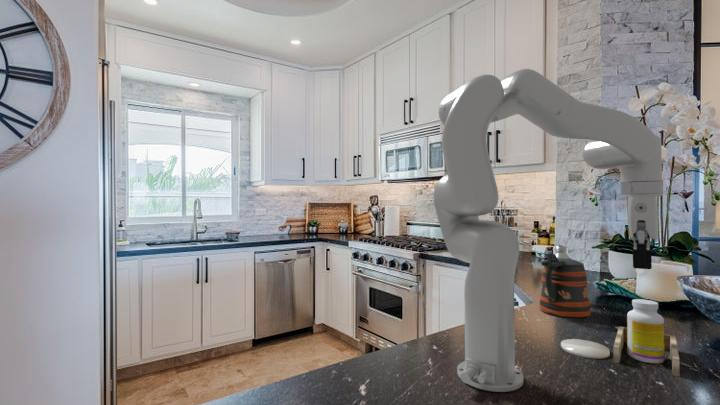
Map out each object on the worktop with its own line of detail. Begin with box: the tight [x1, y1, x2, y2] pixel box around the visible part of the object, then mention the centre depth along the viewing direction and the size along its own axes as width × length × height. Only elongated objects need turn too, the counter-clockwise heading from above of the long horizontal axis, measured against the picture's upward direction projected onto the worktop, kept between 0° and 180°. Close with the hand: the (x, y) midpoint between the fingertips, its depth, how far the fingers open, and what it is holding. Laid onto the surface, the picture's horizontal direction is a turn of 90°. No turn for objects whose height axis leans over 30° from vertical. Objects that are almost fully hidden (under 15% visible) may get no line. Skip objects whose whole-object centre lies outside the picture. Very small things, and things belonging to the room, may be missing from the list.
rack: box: [612, 326, 680, 377], centre depth 84 cm, size 17×11×4 cm, turn 141°
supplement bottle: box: [626, 298, 666, 365], centre depth 83 cm, size 7×7×13 cm
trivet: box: [560, 338, 611, 360], centre depth 88 cm, size 10×10×1 cm
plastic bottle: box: [554, 245, 570, 259], centre depth 132 cm, size 6×7×20 cm
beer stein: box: [538, 252, 592, 319], centre depth 118 cm, size 19×15×20 cm
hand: (642, 265), depth 83 cm, fingers open, 9 cm apart
